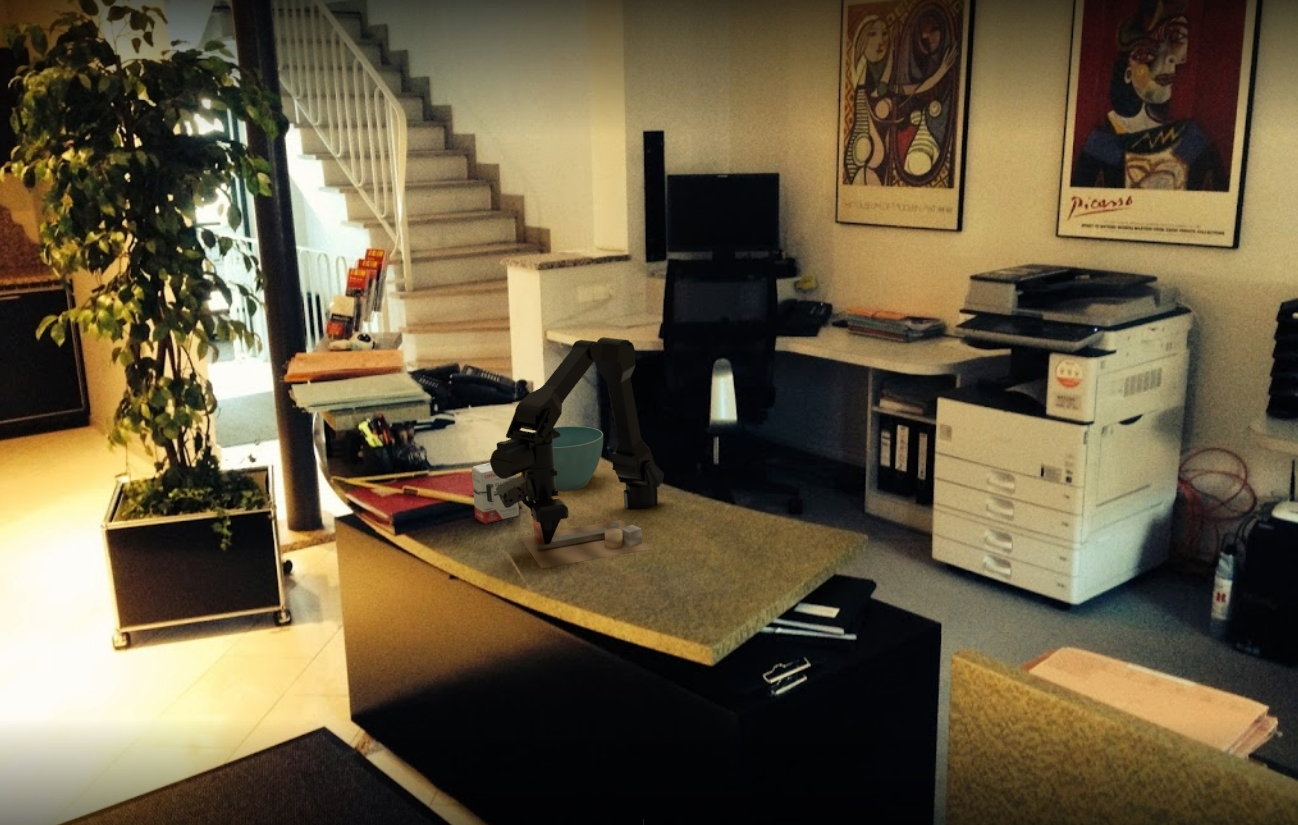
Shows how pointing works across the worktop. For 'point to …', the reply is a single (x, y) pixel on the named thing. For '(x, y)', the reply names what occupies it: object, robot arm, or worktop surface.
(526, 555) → the worktop surface
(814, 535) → the worktop surface
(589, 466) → the teal bowl
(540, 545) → the lever
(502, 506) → the ink box
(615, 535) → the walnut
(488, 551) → the worktop surface
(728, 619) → the worktop surface
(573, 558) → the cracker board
